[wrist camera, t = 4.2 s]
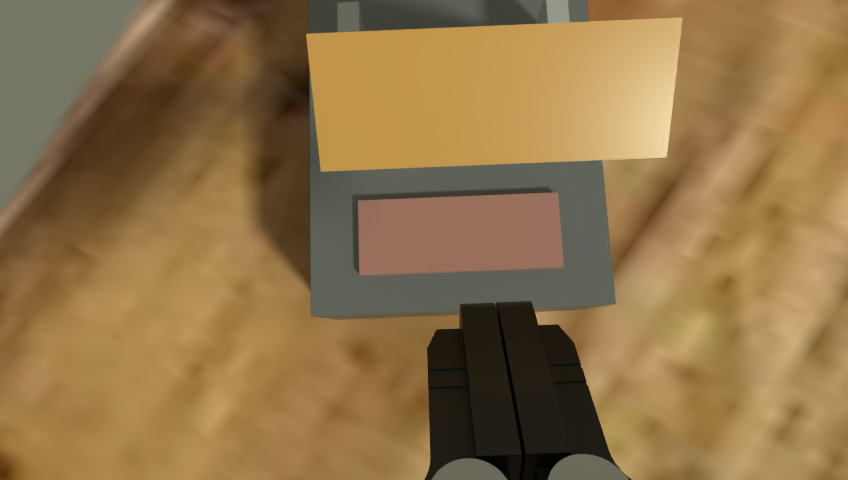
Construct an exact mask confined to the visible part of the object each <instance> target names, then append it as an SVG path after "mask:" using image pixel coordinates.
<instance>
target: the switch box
mask: <svg viewBox="0 0 848 480" xmlns="http://www.w3.org/2000/svg"><path fill="white" fill-rule="evenodd" d="M568 22H589V17H588V7H587V0H309V34H312V33H335V32H358V31H382V30H405V29H428V28H452V27H475V26H498V25H522V24H545V23H568ZM310 254H311V316H314V317H321V318H329V319H362V318H387V317H413V316H438V315H460V304H469V303H494V304H495V305H496V302H515V301H531V302H532V304H533V308H534V311H535V312H540V311H566V310H580V309H587V308H593V307H600V306H607V305H613V304H616V303H615V292H614V281H613V271H612V260H611V250H610V239H609V229H608V218H607V207H606V197H605V186H604V176H603V165H602V160H591V161H567V162H543V163H519V164H494V165H470V166H446V167H421V168H397V169H373V170H349V171H324V172H321V168H320V159H319V150H318V140H317V131H316V122H315V112H314V103H313V94H312V85H311V75H310Z"/></svg>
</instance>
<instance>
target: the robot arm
mask: <svg viewBox="0 0 848 480" xmlns="http://www.w3.org/2000/svg"><path fill="white" fill-rule="evenodd" d="M427 356H428V388H429V421H430V454H431V458H430V467H429V471H428V473H427V476H426V478H425V480H631V479H630V478H629V477H627V476H626V475H625V474H624V473H623V472H622V471H621V470H620V469H619V467H618V466H617V465H616V463H615V462H614V460H613V458H612V457H611V454H610V452H609V450H608V446H607V443H606V440H605V437H604V434H603V431H602V428H601V425H600V422H599V419H598V416H597V413H596V409H595V406H594V403H593V400H592V397H591V394H590V391H589V388H588V385H586V379H585V376H584V372H583V369H582V368H581V363H580V360H579V357H578V354H577V351H576V348H575V345H574V342H573V341H572V340H571V339H570V338H569V337H568V335H567V334H566V333H565V332H564V331H563V330H562V329H561V328H560V326H559V325H538V323H537V319H536V315H535V311H534V308H533V304H532V302H531V301H515V302H496V305H495V304H494V303H469V304H460V329H439V330H436V332H435V334H434V336H433V338H432V340H431V342H430V344H429V346H428V348H427Z"/></svg>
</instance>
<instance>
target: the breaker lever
mask: <svg viewBox="0 0 848 480" xmlns="http://www.w3.org/2000/svg"><path fill="white" fill-rule="evenodd" d="M682 19H683V18H661V19H638V20H615V21H591V22H568V23H545V24H522V25H498V26H475V27H452V28H428V29H405V30H382V31H358V32H335V33H312V34H306V38H307V47H308V57H309V66H310V75H311V85H312V94H313V103H314V112H315V122H316V131H317V140H318V150H319V159H320V168H321V172H324V171H349V170H373V169H397V168H421V167H446V166H470V165H494V164H519V163H543V162H567V161H591V160H616V159H640V158H664V157H667V150H668V141H669V132H670V123H671V115H672V106H673V97H674V89H675V80H676V71H677V62H678V54H679V45H680V36H681V28H682Z"/></svg>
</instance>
